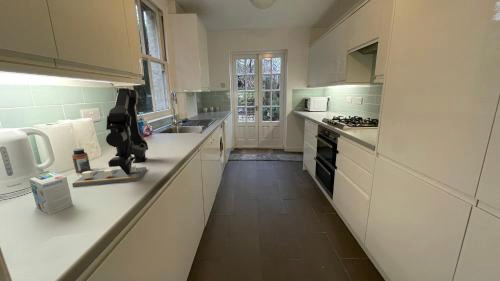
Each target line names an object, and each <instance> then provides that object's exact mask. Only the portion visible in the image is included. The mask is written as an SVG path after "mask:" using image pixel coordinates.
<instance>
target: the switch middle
mask: <svg viewBox="0 0 500 281" xmlns="http://www.w3.org/2000/svg"><path fill="white" fill-rule="evenodd" d="M113 169H114V168H111V169H104V170H105V171H104V177H111V176H113V175H114V172H113Z"/></svg>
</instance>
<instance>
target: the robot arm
mask: <svg viewBox="0 0 500 281" xmlns="http://www.w3.org/2000/svg"><path fill="white" fill-rule="evenodd" d="M138 101H139V92H138V91H137V90H135V89H130V88H128V87H123V88H122V87H119V88H117V89H116V100H115V104H114V107H112V108H110V110H109V112H108V114H107V115H106V128H105V129H106V130H107V131H108V130H109V131H110V132H109V133H108V134H107V135H106V138H105V141H106V143H107V145H109V146H110V147H113V148H115V150H116V153H115V154H114V155H115V157H112V158H111V159H109V161H108V162H107V163H108V167H109V168H115V167H119V168H120V169H122V170H123V171H124V172H125V173H126V174H127V175H130V172H131V166H133V165H132V164H133V163H144V162H146V161H147V160H148V159H149V158H148V157H146V151H148V150H149V146H148V142H147V141H146V139H145V137H144V135H143V134H142V133H141V132H140V124H139V121H138V113H137V108H136V107H137V104H138Z"/></svg>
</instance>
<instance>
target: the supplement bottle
mask: <svg viewBox="0 0 500 281" xmlns="http://www.w3.org/2000/svg"><path fill="white" fill-rule="evenodd" d="M71 157H72V162H73V165H74V170H75V172H76V173H81V174H82V173H83V172H86V171H91V166H90V160H89V156H88V153H87V152H85V149H84V148H75V149H73V154H72V155H71Z"/></svg>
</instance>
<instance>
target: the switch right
mask: <svg viewBox="0 0 500 281" xmlns="http://www.w3.org/2000/svg"><path fill="white" fill-rule="evenodd" d="M92 171H93V170H88V171H86V172H81V177H83V179H88V178H92V177H93V174H92Z"/></svg>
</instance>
